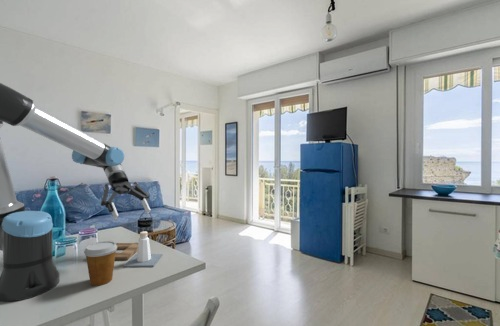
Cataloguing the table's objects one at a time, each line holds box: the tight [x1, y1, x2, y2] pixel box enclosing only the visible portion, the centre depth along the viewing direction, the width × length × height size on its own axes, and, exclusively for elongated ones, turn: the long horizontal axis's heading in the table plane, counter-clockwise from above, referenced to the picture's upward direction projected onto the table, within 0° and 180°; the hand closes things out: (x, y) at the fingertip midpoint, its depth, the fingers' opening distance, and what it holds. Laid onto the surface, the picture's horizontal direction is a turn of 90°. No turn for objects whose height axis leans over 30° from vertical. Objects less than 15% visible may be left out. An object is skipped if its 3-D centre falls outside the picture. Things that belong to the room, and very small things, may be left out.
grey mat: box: [123, 253, 163, 268], centre depth 100 cm, size 11×11×1 cm
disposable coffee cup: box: [83, 240, 117, 287], centre depth 84 cm, size 10×10×12 cm
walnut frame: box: [115, 242, 138, 261], centre depth 109 cm, size 16×16×2 cm
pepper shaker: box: [136, 230, 152, 262], centre depth 100 cm, size 5×5×11 cm
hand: (133, 214), depth 105 cm, fingers open, 13 cm apart
